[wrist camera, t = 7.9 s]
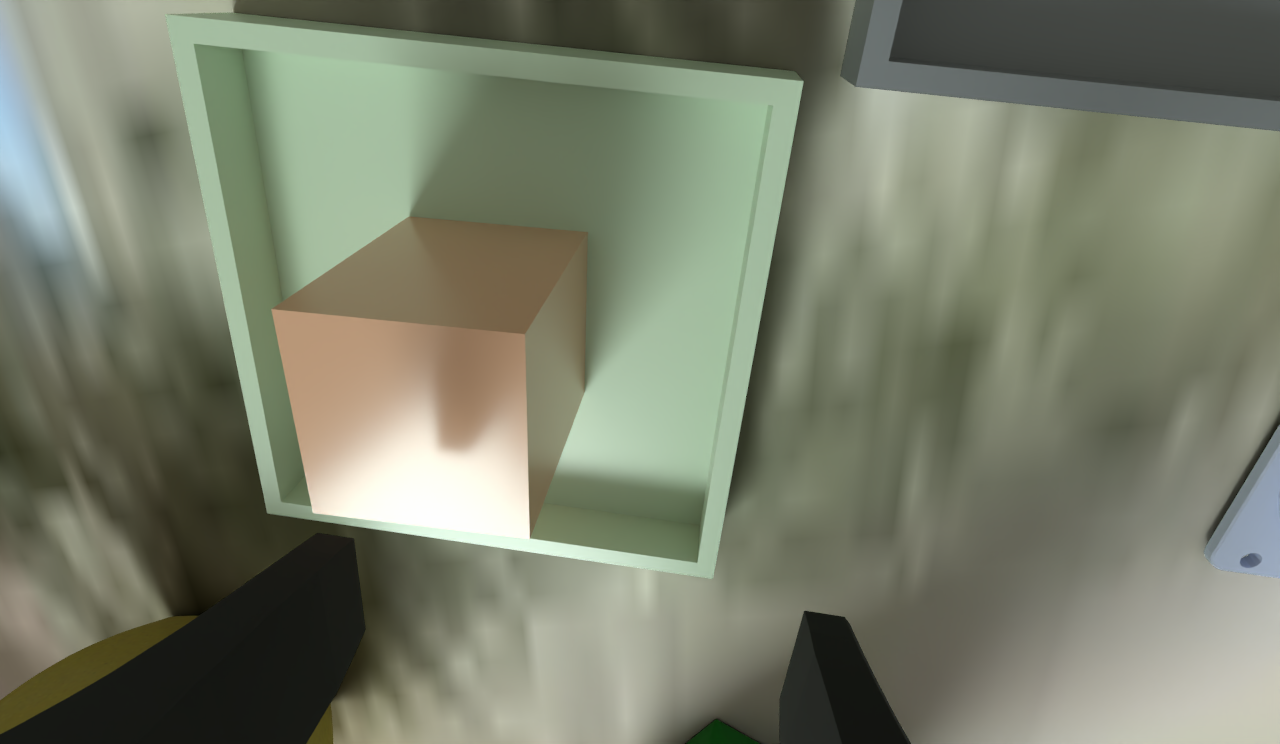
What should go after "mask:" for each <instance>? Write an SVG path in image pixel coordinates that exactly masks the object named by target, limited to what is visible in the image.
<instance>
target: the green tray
mask: <svg viewBox="0 0 1280 744" xmlns="http://www.w3.org/2000/svg"><path fill="white" fill-rule="evenodd" d="M165 17H166V21H167V26H168V31H169V36H170V41H171V46H172V51H173V56H174V61H175V65H176V70H177V75H178V80H179V85H180V90H181V95H182V100H183V105H184V109H185V114H186V119H187V124H188V129H189V134H190V139H191V144H192V148H193V153H194V158H195V163H196V168H197V173H198V178H199V183H200V188H201V192H202V197H203V202H204V207H205V212H206V217H207V222H208V227H209V232H210V236H211V241H212V246H213V251H214V256H215V261H216V266H217V271H218V275H219V280H220V285H221V290H222V295H223V300H224V305H225V310H226V315H227V319H228V324H229V329H230V334H231V339H232V344H233V349H234V354H235V359H236V363H237V368H238V373H239V378H240V383H241V388H242V393H243V398H244V402H245V407H246V412H247V417H248V422H249V427H250V432H251V437H252V442H253V446H254V451H255V456H256V461H257V466H258V471H259V476H260V481H261V485H262V490H263V495H264V500H265V505H266V510H267V513H268V514H275V515H282V516H288V517H295V518H302V519H309V520H316V521H322V522H329V523H336V524H343V525H350V526H356V527H363V528H370V529H377V530H384V531H390V532H397V533H404V534H411V535H418V536H424V537H431V538H438V539H445V540H452V541H458V542H465V543H472V544H479V545H486V546H492V547H499V548H506V549H513V550H520V551H526V552H533V553H540V554H547V555H554V556H560V557H567V558H574V559H581V560H587V561H594V562H601V563H608V564H615V565H621V566H628V567H635V568H642V569H649V570H655V571H662V572H669V573H676V574H683V575H689V576H696V577H703V578H710V579H713V576H714V571H715V565H716V560H717V554H718V549H719V543H720V538H721V532H722V527H723V521H724V516H725V510H726V505H727V499H728V494H729V488H730V483H731V477H732V472H733V466H734V461H735V455H736V450H737V444H738V439H739V433H740V428H741V422H742V417H743V411H744V406H745V401H746V395H747V390H748V384H749V379H750V373H751V368H752V362H753V357H754V351H755V346H756V340H757V335H758V329H759V324H760V318H761V313H762V307H763V302H764V296H765V291H766V285H767V280H768V274H769V269H770V263H771V258H772V252H773V247H774V241H775V236H776V230H777V225H778V219H779V214H780V208H781V203H782V197H783V192H784V187H785V181H786V176H787V170H788V165H789V159H790V154H791V148H792V143H793V137H794V132H795V126H796V121H797V115H798V110H799V104H800V99H801V93H802V88H803V82H804V81H803V80H802V79H801V78H800V77H799V75H798V74H797V73H796V72H795V71H788V70H779V69H769V68H759V67H750V66H740V65H730V64H721V63H711V62H702V61H692V60H682V59H673V58H663V57H654V56H644V55H634V54H625V53H615V52H606V51H596V50H586V49H577V48H567V47H558V46H548V45H538V44H529V43H519V42H509V41H500V40H490V39H481V38H471V37H461V36H452V35H442V34H433V33H423V32H413V31H404V30H394V29H385V28H375V27H365V26H356V25H346V24H336V23H327V22H317V21H308V20H298V19H288V18H279V17H269V16H260V15H250V14H240V13H197V14H165ZM409 216H410V217H421V218H433V219H444V220H456V221H467V222H479V223H490V224H501V225H513V226H524V227H536V228H547V229H559V230H570V231H581V232H588V254H587V302H586V350H585V393H584V396H583V398H582V401H581V404H580V406H579V409H578V412H577V414H576V417H575V420H574V422H573V425H572V428H571V430H570V433H569V436H568V438H567V441H566V444H565V446H564V449H563V452H562V455H561V457H560V460H559V463H558V465H557V468H556V471H555V473H554V476H553V479H552V481H551V484H550V487H549V489H548V492H547V495H546V497H545V500H544V503H543V506H542V508H541V511H540V514H539V516H538V519H537V522H536V524H535V527H534V530H533V532H532V535H531V538H530V539H522V538H514V537H505V536H497V535H489V534H481V533H472V532H464V531H456V530H448V529H439V528H431V527H423V526H414V525H406V524H398V523H390V522H381V521H373V520H365V519H356V518H348V517H340V516H332V515H323V514H315V513H313V511H312V506H311V501H310V496H309V491H308V486H307V481H306V477H305V472H304V467H303V462H302V457H301V452H300V447H299V442H298V437H297V433H296V428H295V423H294V418H293V413H292V408H291V403H290V398H289V393H288V389H287V384H286V379H285V374H284V369H283V364H282V359H281V354H280V349H279V345H278V340H277V335H276V330H275V325H274V320H273V315H272V310H271V309H272V308H274V307H275V306H277V305H278V304H280V303H281V302H283V301H284V300H286V299H287V298H289V297H290V296H291V295H293V294H294V293H296V292H297V291H299V290H300V289H302V288H303V287H305V286H306V285H308V284H309V283H311V282H312V281H314V280H315V279H317V278H318V277H320V276H321V275H323V274H324V273H326V272H327V271H329V270H330V269H332V268H333V267H335V266H336V265H338V264H339V263H341V262H342V261H343V260H345V259H346V258H348V257H349V256H351V255H352V254H354V253H355V252H357V251H358V250H360V249H361V248H363V247H364V246H366V245H367V244H369V243H370V242H372V241H373V240H375V239H376V238H378V237H379V236H381V235H382V234H384V233H385V232H387V231H388V230H390V229H391V228H393V227H394V226H395V225H397V224H398V223H400V222H401V221H403V220H404V219H406V218H407V217H409Z"/></svg>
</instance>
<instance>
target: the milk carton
mask: <svg viewBox="0 0 1280 744" xmlns="http://www.w3.org/2000/svg"><path fill="white" fill-rule="evenodd" d="M686 744H760V743H758V742H756V741H754V740H753V739H751V738H749V737H747V736H746V735H744V734H742V733H740V732H739V731H737V730H735V729H733V728H731V727H730V726H728V725H726V724H724V723H723V722H721V721H719V720H718V719H716V720H714V721H713V722H712V723H711V724H709V725H708V726H707V727H706V728H704V729H703V730H702V731H701V732H699V733H698V734H697V735H696V736H694V737H693V738H692V739H691V740H690V741H688V742H687V743H686Z"/></svg>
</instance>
